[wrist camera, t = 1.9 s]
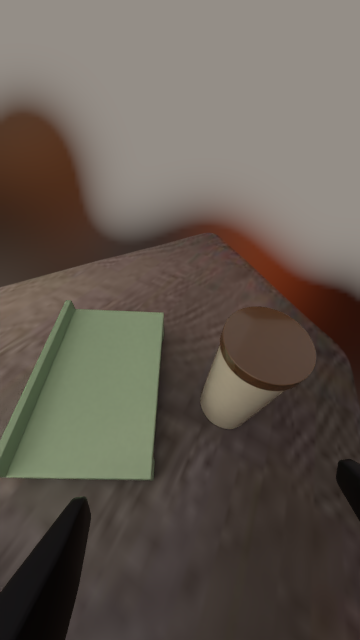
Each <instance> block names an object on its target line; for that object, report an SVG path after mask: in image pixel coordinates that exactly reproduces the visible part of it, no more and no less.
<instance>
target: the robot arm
mask: <svg viewBox="0 0 360 640" xmlns="http://www.w3.org/2000/svg"><path fill="white" fill-rule="evenodd" d="M336 480H337V483H338V485H339V487H340V489H341V490H342V492H343V494H344V495H345V497H346V499H347V500H348V502H349V504H350V506H351V507H352V509H353V511H354V512H355V514H356V516H357V517H358V519H359V521H360V464H359V463H357V462H355V461H353V460H351V459H346V460H340V461H339V462H338V467H337V474H336ZM90 521H91V513H90V509H89V505H88V501H87V498H86V497H76V498H74V499H72V500H71V501H70V503H69V504H68V505H67V506H66V508H65V509H64V510H63V512H62V513H61V514H60V516H59V517H58V518H57V519H56V521H55V522H54V523H53V525H52V526H51V527H50V529H49V530H48V531H47V532H46V534H45V535H44V536H43V538H42V539H41V540H40V542H39V543H38V544H37V545H36V547H35V548H34V549H33V551H32V552H31V553H30V555H29V556H28V557H27V558H26V560H25V561H24V562H23V564H22V565H21V566H20V568H19V569H18V570H17V572H16V573H15V574H14V575H13V577H12V578H11V579H10V581H9V582H8V583H7V585H6V586H5V587H4V588H3V590H2V591H1V592H0V640H65V638H66V634H67V630H68V627H69V623H70V619H71V615H72V611H73V607H74V603H75V599H76V595H77V591H78V587H79V582H80V577H81V571H82V566H83V560H84V554H85V549H86V543H87V538H88V532H89V527H90Z"/></svg>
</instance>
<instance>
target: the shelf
mask: <svg viewBox="0 0 360 640" xmlns="http://www.w3.org/2000/svg"><path fill="white" fill-rule="evenodd" d="M163 338H164V313H156V312H132V311H108V310H84V309H75V307H74V305H73V303H72V301H71V300H66V301H65V304H64V306H63V308H62V310H61V312H60V314H59V316H58V318H57V321H56V323H55V325H54V327H53V329H52V331H51V333H50V336H49V338H48V340H47V342H46V344H45V346H44V348H43V350H42V353H41V355H40V357H39V359H38V361H37V363H36V365H35V367H34V370H33V372H32V374H31V376H30V378H29V380H28V382H27V385H26V387H25V389H24V391H23V393H22V395H21V397H20V399H19V402H18V404H17V406H16V408H15V410H14V412H13V414H12V417H11V419H10V421H9V423H8V425H7V427H6V429H5V431H4V434H3V436H2V438H1V440H0V477H8V478H35V479H96V480H153V477H154V464H155V460H154V458H153V454H154V441H155V428H156V414H157V401H158V388H159V375H160V362H161V349H162V341H163Z"/></svg>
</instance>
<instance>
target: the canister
mask: <svg viewBox="0 0 360 640" xmlns="http://www.w3.org/2000/svg"><path fill="white" fill-rule="evenodd" d="M315 363H316V351H315V347H314V344H313V342H312V340H311V338H310V336H309V334H308V333H307V332H306V331H305V329H304V328H303V327H302V326H301V325H300V324H299V323H298V322H296V321H295V320H294V319H292V318H291V317H289V316H288V315H286V314H284V313H282V312H280V311H277V310H274V309H271V308H267V307H247V308H243V309H240V310H238V311H236V312H235V313H233V314H232V315H231V316H230V317H229V318H228V319H227V321H226V323H225V325H224V328H223V330H222V333H221V337H220V344H219V347H218V350H217V352H216V355H215V358H214V360H213V363H212V366H211V368H210V371H209V373H208V376H207V379H206V381H205V384H204V387H203V389H202V392H201V397H200V401H201V407H202V410H203V412H204V414H205V416H206V417H207V418H208V419H209V420H210V421H211V422H212V423H213V424H215V425H216V426H218V427H220V428H224V429H234V428H238V427H240V426H241V425H243V424H244V423H245V422H246V421H248V420H249V419H250V418H252V417H253V416H254V415H255V414H257V413H258V412H259V411H260V410H262V409H263V408H264V407H265V406H267V405H268V404H269V403H271V402H272V401H273V400H274V399H276V398H277V397H278V396H279V395H281V394H282V393H283V392H285V391H286V390H288V389H291V388H293V387H295V386H297V385H298V384H299V383H301V382H302V381H303V380H305V379H306V378H307V377H308V376H309V375H310V374H311V372H312V371H313V369H314V366H315Z"/></svg>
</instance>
